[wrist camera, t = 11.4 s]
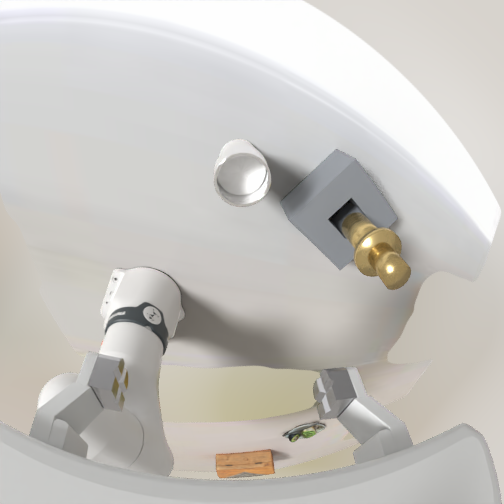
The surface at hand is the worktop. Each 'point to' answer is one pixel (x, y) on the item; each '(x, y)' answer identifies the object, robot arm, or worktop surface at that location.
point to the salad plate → (304, 431)
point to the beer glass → (241, 174)
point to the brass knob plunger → (376, 250)
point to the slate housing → (335, 205)
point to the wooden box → (244, 464)
